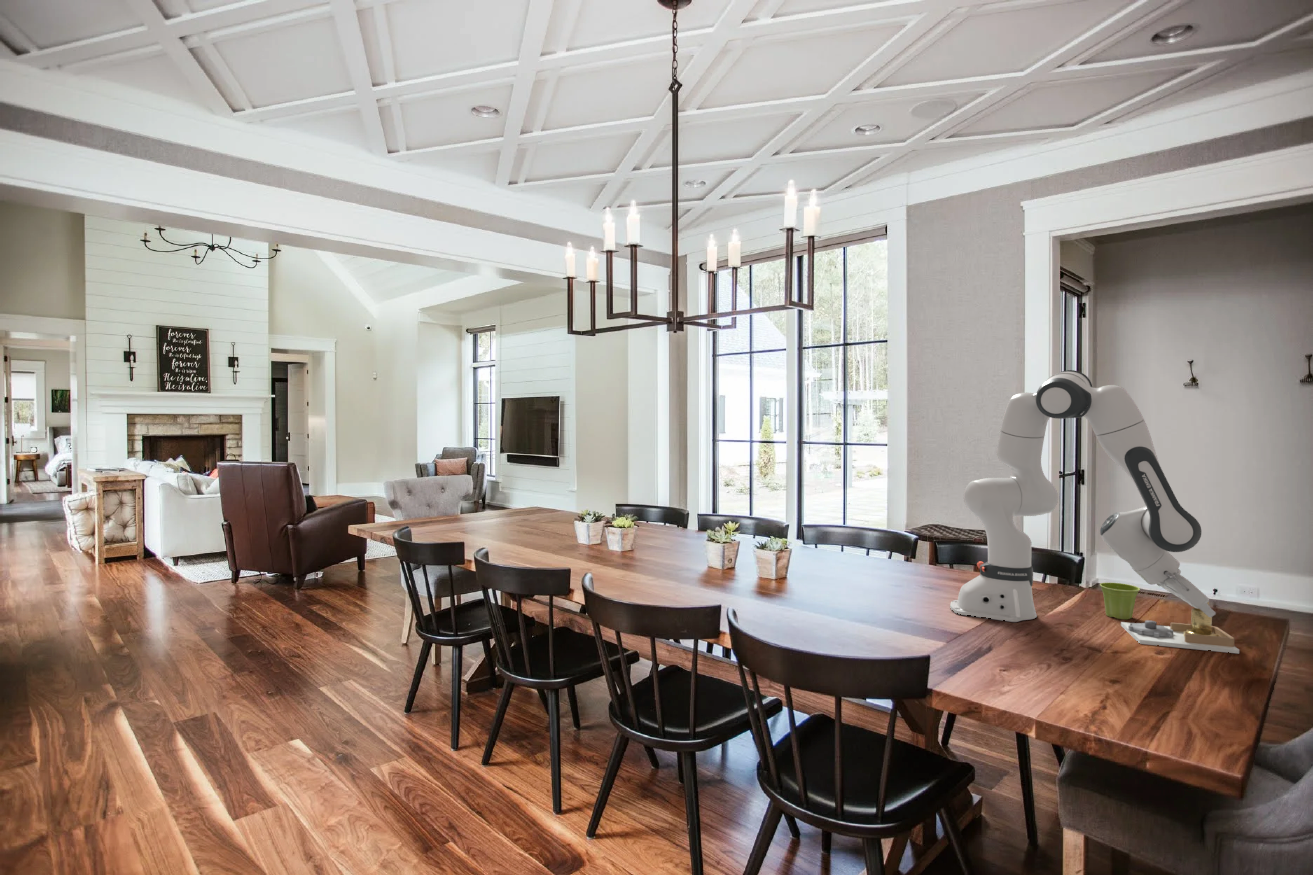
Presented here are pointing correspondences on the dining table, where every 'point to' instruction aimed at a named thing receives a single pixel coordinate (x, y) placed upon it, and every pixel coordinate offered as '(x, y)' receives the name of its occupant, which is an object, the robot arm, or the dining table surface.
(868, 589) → the dining table surface
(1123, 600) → the plant pot
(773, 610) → the dining table surface
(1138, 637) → the gear board
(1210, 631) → the brass gear shaft
